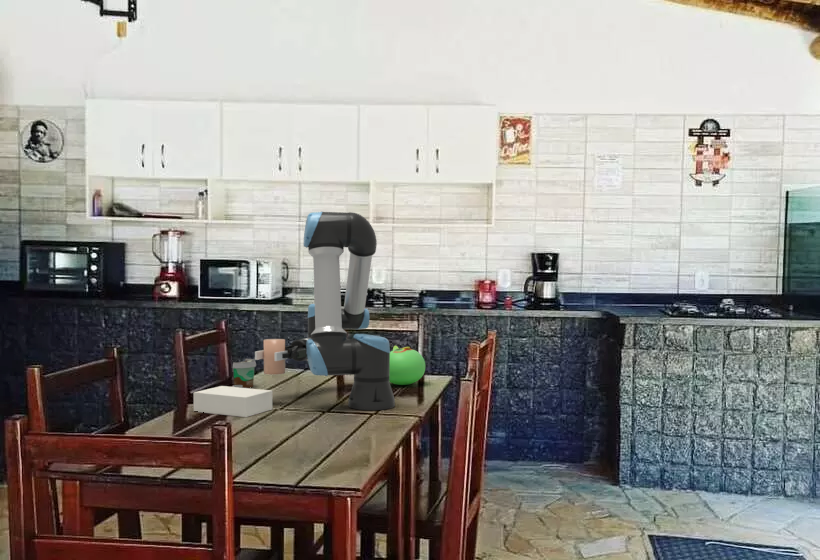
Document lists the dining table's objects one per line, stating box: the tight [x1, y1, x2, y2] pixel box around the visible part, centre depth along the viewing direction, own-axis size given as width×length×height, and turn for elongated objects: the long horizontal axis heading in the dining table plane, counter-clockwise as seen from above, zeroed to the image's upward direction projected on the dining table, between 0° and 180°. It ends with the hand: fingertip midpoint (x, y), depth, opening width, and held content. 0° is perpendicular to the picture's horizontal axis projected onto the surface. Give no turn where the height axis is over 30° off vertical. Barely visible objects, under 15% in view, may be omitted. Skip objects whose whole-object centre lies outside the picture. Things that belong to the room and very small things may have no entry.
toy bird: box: [390, 345, 426, 386], centre depth 314 cm, size 18×17×15 cm
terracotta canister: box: [263, 338, 286, 375], centre depth 274 cm, size 7×7×11 cm
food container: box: [232, 358, 257, 389], centre depth 305 cm, size 12×6×10 cm, turn 168°
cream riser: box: [193, 385, 273, 418], centre depth 262 cm, size 20×14×6 cm
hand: (265, 356), depth 269 cm, fingers closed on terracotta canister, 7 cm apart
